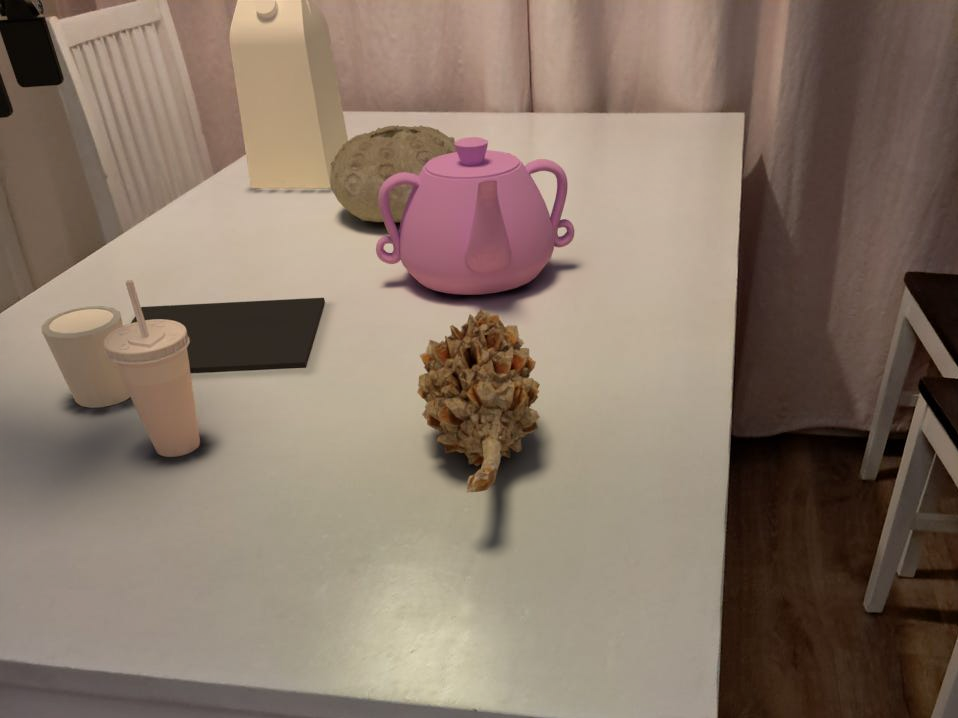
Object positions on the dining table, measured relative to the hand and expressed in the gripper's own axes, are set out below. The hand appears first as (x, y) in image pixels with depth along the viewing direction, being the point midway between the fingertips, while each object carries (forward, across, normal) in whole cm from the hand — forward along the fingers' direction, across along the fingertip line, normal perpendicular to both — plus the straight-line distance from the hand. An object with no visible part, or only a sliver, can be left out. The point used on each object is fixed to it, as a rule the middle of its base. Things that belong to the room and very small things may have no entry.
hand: (17, 100), depth 62 cm
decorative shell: (+26, -57, +20) cm, 66 cm away
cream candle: (+26, -9, -5) cm, 28 cm away
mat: (+26, -20, +3) cm, 33 cm away
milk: (+26, -77, +4) cm, 82 cm away
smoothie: (+26, +2, +4) cm, 26 cm away
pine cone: (+26, +8, +30) cm, 41 cm away
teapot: (+26, -31, +30) cm, 51 cm away
